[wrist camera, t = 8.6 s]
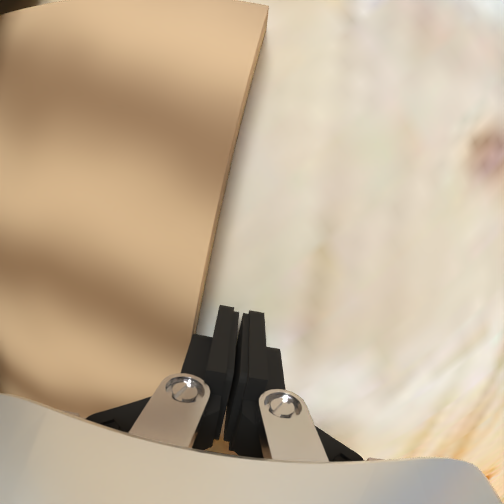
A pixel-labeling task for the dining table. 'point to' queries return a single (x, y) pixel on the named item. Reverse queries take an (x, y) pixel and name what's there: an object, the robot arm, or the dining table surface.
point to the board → (113, 187)
